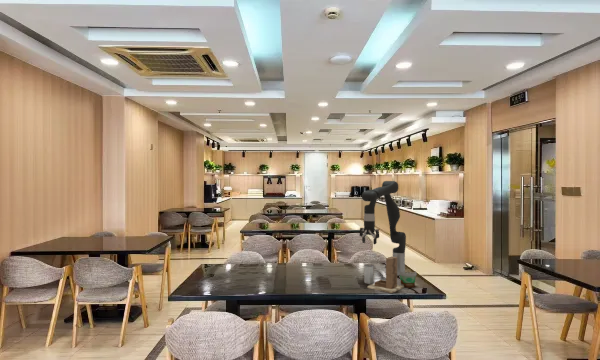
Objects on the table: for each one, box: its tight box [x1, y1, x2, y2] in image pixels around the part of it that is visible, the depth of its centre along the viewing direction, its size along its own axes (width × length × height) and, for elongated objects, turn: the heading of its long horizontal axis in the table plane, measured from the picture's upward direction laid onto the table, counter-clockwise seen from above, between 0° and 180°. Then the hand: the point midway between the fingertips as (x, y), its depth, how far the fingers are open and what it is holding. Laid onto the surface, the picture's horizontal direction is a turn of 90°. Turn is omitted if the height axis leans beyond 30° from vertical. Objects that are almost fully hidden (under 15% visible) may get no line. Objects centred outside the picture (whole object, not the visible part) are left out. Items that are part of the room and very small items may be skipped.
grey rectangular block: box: [363, 263, 374, 285], centre depth 269 cm, size 5×5×13 cm
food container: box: [399, 271, 417, 289], centre depth 260 cm, size 12×6×10 cm, turn 101°
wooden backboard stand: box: [366, 256, 405, 294], centre depth 257 cm, size 18×18×21 cm
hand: (369, 243), depth 261 cm, fingers open, 8 cm apart
